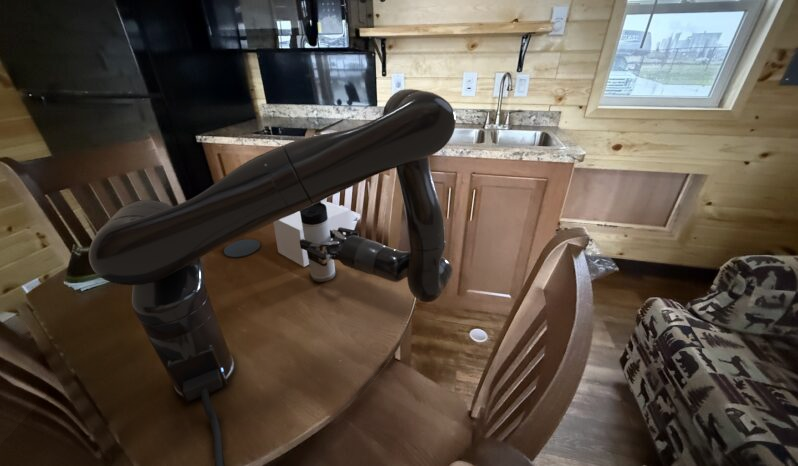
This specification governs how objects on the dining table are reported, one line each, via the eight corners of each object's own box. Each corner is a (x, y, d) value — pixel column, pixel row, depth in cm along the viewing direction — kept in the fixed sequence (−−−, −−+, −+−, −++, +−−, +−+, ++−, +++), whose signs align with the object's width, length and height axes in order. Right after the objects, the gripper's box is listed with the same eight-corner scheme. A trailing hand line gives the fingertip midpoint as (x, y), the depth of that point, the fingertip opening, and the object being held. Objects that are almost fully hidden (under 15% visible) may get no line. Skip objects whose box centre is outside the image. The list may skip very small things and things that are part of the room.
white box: (304, 267, 87) (367, 233, 105) (299, 230, 81) (367, 202, 100) (278, 252, 93) (342, 223, 112) (272, 217, 88) (340, 193, 106)
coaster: (263, 251, 93) (262, 250, 93) (225, 261, 89) (225, 260, 88) (257, 237, 101) (256, 236, 100) (222, 245, 96) (222, 244, 96)
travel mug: (338, 268, 86) (330, 201, 76) (331, 283, 80) (321, 212, 71) (316, 266, 87) (305, 200, 77) (308, 281, 81) (294, 211, 71)
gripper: (381, 228, 76) (327, 212, 83) (344, 257, 65) (286, 236, 72) (382, 254, 79) (330, 237, 86) (347, 285, 69) (291, 263, 76)
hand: (310, 237), depth 79 cm, fingers closed on travel mug, 6 cm apart
